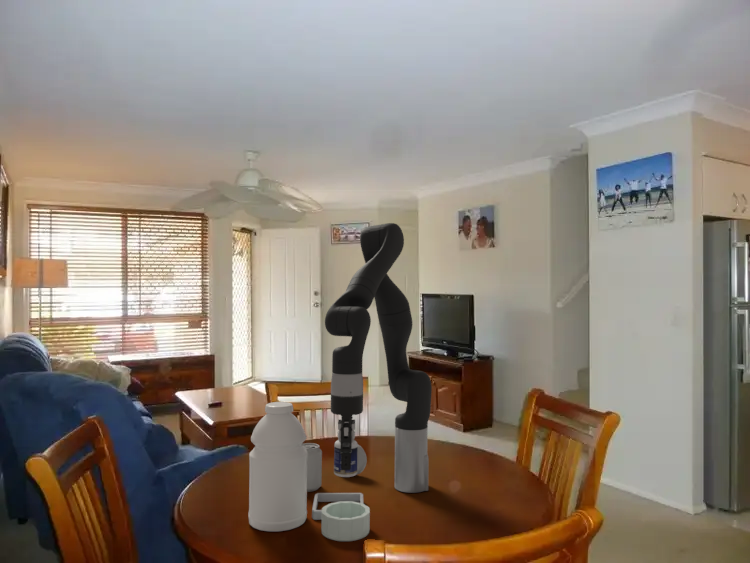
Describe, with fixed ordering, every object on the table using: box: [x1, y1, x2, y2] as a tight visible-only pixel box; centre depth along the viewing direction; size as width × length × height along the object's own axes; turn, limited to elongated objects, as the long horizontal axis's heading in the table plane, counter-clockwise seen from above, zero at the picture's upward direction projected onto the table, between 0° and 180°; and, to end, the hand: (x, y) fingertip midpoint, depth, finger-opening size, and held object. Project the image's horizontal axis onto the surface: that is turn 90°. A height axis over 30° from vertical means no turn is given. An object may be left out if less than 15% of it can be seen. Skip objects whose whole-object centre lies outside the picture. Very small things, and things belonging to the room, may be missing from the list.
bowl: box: [320, 501, 371, 542], centre depth 132 cm, size 11×11×5 cm
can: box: [302, 442, 323, 493], centre depth 160 cm, size 8×8×12 cm
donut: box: [355, 444, 368, 476], centre depth 172 cm, size 10×4×10 cm, turn 68°
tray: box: [311, 492, 364, 521], centre depth 144 cm, size 13×13×2 cm
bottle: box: [247, 401, 308, 532], centre depth 137 cm, size 14×14×28 cm
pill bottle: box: [333, 430, 359, 478], centre depth 132 cm, size 5×5×10 cm
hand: (346, 465), depth 132 cm, fingers closed on pill bottle, 5 cm apart
